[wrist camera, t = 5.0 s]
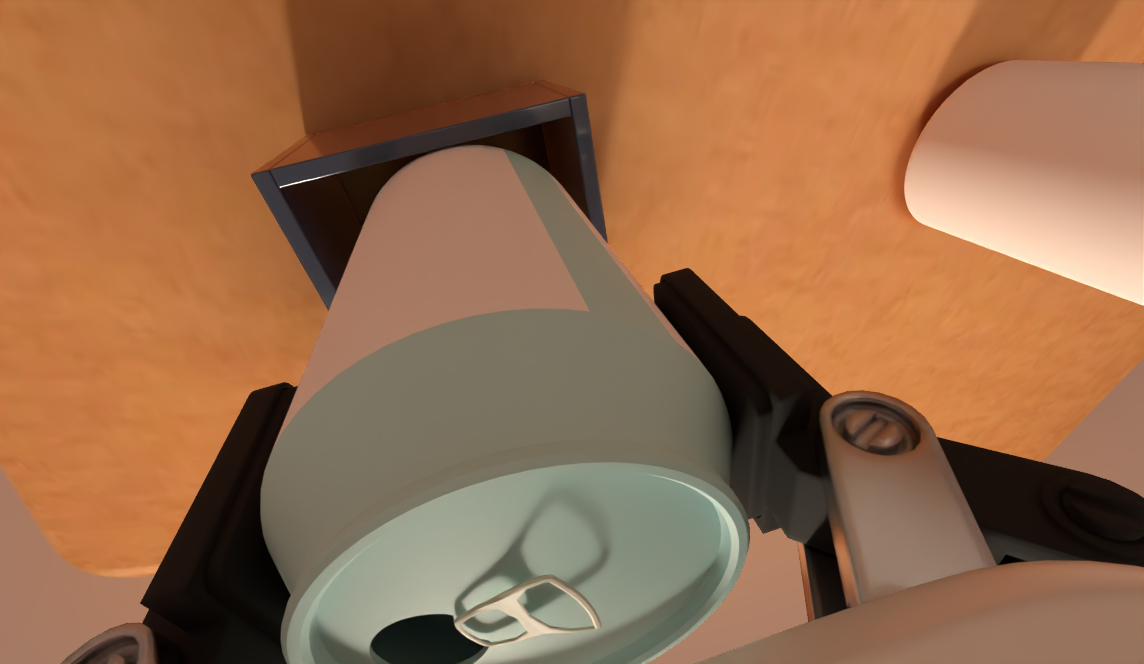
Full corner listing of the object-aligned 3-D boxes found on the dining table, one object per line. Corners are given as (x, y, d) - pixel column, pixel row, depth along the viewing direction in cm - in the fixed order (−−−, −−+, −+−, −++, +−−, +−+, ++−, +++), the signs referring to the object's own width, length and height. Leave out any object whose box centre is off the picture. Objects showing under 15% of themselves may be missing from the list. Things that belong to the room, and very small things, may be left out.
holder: (304, 136, 17) (248, 174, 12) (544, 79, 18) (586, 92, 13) (402, 336, 22) (391, 421, 17) (583, 284, 23) (624, 350, 18)
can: (523, 359, 18) (618, 730, 9) (337, 299, 15) (150, 776, 5) (616, 203, 16) (902, 483, 6) (412, 91, 13) (314, 297, 3)
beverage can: (1056, 115, 24) (1473, 162, 15) (939, 245, 27) (1221, 357, 18) (993, 21, 21) (1491, 0, 11) (866, 182, 24) (1170, 279, 14)
